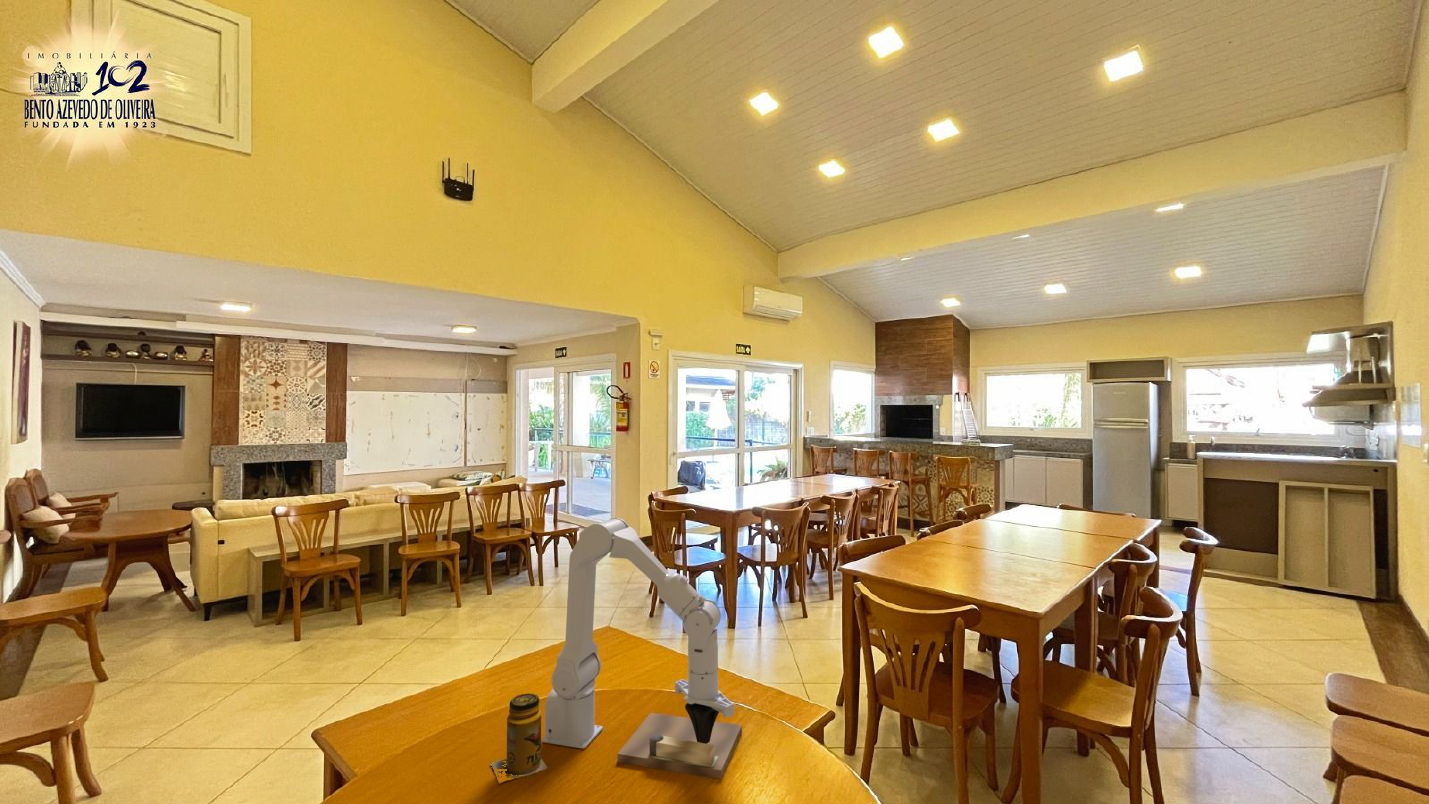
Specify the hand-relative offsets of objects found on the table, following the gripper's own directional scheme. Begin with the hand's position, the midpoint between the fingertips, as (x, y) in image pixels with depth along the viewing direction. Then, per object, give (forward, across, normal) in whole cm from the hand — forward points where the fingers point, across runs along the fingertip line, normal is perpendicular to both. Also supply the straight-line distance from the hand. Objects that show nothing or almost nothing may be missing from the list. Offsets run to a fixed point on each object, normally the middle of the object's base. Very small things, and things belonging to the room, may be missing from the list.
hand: (703, 742), depth 105 cm
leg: (+1, -1, -5) cm, 5 cm away
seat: (+3, -5, -1) cm, 6 cm away
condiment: (+3, -22, -26) cm, 34 cm away
